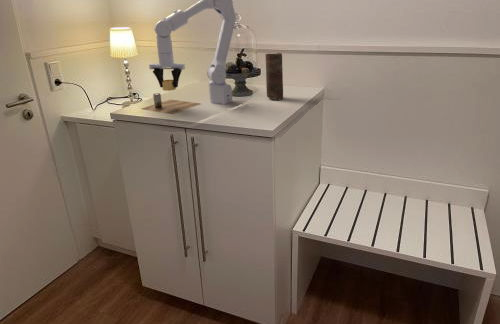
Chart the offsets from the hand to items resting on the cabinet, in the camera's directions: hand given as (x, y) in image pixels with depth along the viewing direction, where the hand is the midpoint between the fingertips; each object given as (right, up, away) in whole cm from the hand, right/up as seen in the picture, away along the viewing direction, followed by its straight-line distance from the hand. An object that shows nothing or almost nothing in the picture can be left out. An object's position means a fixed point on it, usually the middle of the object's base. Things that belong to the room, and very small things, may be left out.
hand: (169, 87), depth 154 cm
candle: (+44, -3, +14) cm, 47 cm away
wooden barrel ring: (0, -1, 0) cm, 1 cm away
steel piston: (-5, -9, +3) cm, 10 cm away
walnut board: (0, -8, +4) cm, 9 cm away
